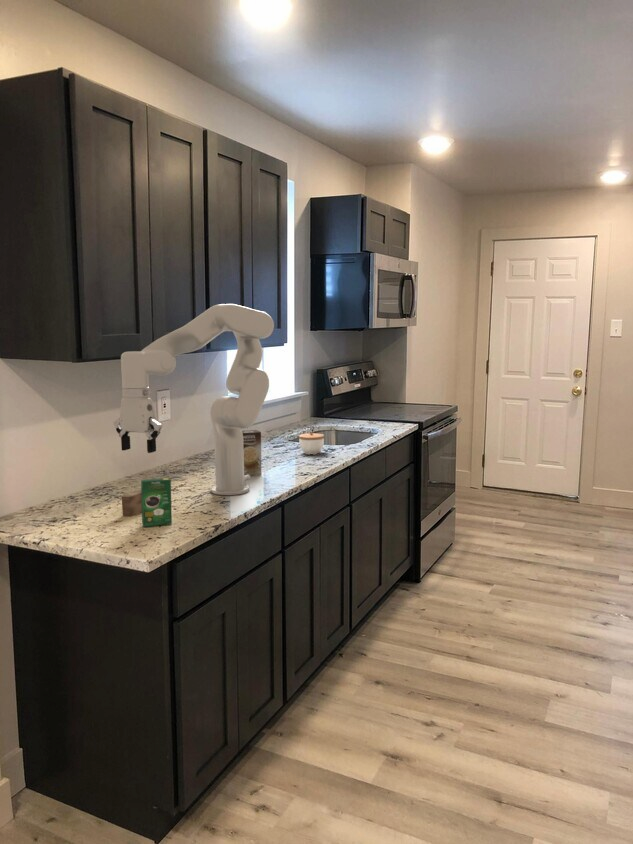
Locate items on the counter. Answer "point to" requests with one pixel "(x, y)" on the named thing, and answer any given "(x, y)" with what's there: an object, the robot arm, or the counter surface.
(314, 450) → the lidded jar
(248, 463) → the coffee box
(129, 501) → the brown rectangular block
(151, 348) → the robot arm
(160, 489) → the coffee box
